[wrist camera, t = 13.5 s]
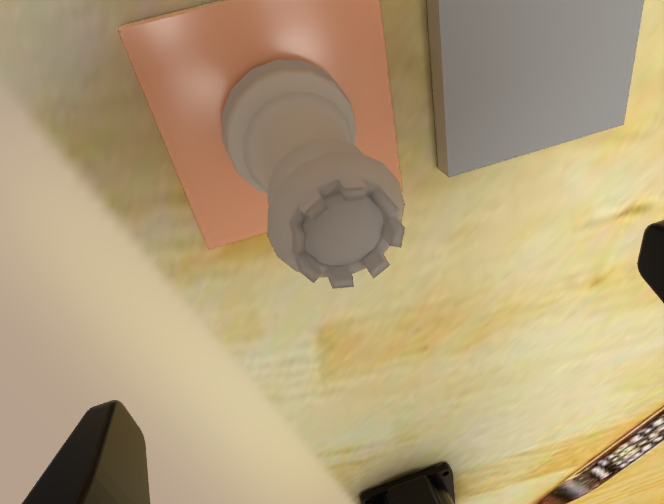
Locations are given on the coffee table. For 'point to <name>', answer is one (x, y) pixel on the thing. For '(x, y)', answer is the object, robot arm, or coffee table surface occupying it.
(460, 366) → the coffee table surface
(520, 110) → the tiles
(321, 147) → the rook chess piece
